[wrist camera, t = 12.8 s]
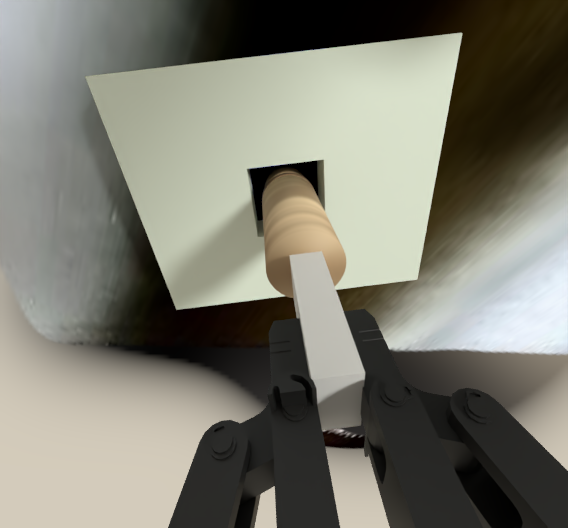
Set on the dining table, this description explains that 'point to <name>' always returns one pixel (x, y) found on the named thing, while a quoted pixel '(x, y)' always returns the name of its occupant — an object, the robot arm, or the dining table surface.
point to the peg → (296, 228)
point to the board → (282, 156)
